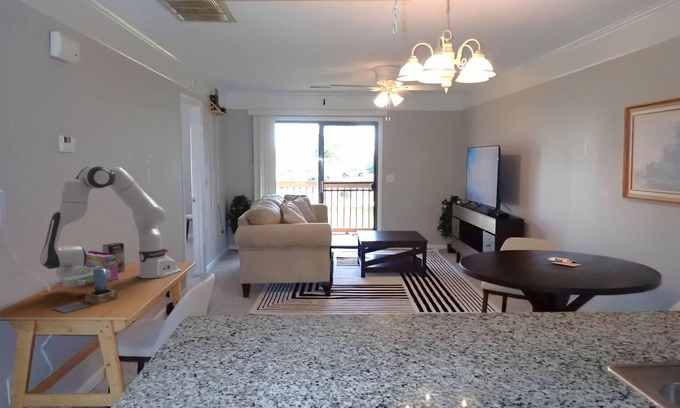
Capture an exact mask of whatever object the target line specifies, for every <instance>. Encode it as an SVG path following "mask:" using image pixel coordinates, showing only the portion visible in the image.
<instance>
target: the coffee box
mask: <svg viewBox="0 0 680 408" xmlns="http://www.w3.org/2000/svg"><path fill="white" fill-rule="evenodd" d="M124 246H125V244H124V243H123V242H112V243H107V244H103V245H102V252H103V253H110V254H117V263H118V273H120V272H119V271H122V270H125V271H126V263H125V247H124ZM122 272H123V271H122Z"/></svg>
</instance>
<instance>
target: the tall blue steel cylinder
mask: <svg viewBox="0 0 680 408" xmlns="http://www.w3.org/2000/svg"><path fill="white" fill-rule="evenodd" d="M93 274H94V282H93V285H94V291H95V295H100V294H104V293H108V291H107V288H108V282H107V277H106V268H97V269H94V270H93Z"/></svg>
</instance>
